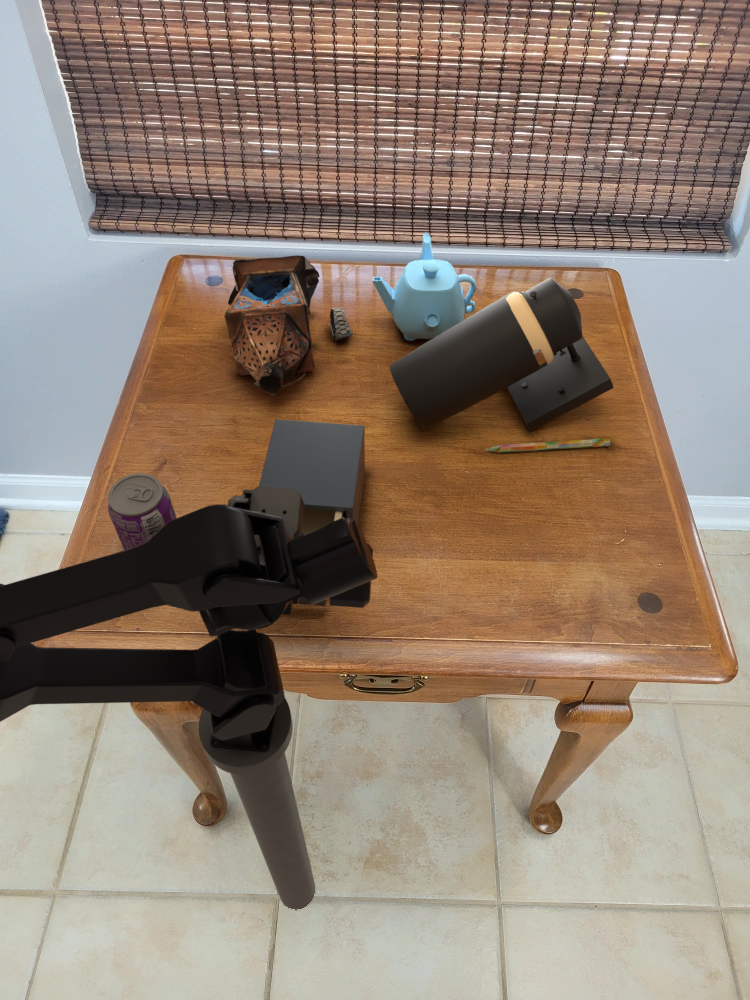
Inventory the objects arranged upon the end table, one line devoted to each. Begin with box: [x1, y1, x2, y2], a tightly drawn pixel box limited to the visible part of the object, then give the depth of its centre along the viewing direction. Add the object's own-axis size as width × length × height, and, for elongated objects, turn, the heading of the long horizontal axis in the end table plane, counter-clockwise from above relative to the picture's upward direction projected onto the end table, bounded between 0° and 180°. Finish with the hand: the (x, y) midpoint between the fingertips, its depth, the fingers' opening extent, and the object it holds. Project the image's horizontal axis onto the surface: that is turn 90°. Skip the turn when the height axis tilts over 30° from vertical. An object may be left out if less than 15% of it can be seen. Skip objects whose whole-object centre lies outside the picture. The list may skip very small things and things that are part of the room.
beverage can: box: [107, 472, 178, 551], centre depth 93 cm, size 7×7×12 cm
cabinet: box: [258, 418, 366, 525], centre depth 98 cm, size 14×12×10 cm
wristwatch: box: [329, 306, 353, 342], centre depth 123 cm, size 3×5×5 cm
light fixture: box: [388, 277, 615, 433], centre depth 108 cm, size 13×18×26 cm
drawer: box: [297, 508, 347, 607], centre depth 93 cm, size 17×10×8 cm, turn 175°
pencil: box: [483, 437, 611, 454], centre depth 109 cm, size 1×1×18 cm
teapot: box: [372, 232, 477, 342], centre depth 122 cm, size 15×14×11 cm
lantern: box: [223, 255, 320, 396], centre depth 116 cm, size 16×16×25 cm
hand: (291, 555), depth 85 cm, fingers closed
